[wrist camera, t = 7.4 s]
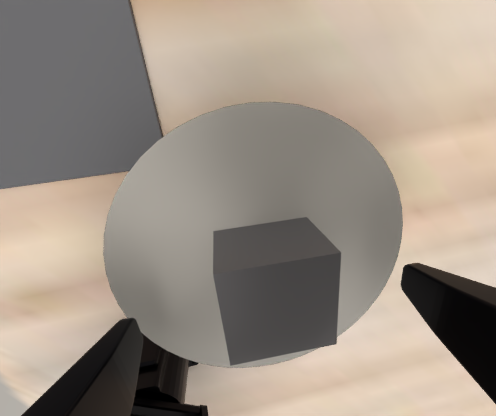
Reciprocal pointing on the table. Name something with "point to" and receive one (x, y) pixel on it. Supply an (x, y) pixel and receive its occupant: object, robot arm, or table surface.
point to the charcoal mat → (71, 91)
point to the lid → (253, 234)
